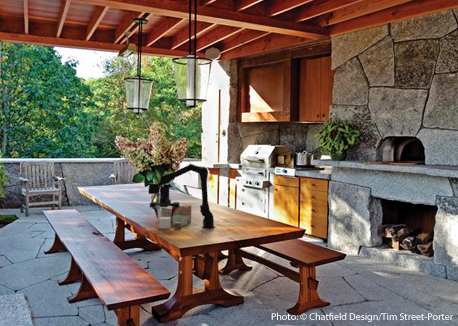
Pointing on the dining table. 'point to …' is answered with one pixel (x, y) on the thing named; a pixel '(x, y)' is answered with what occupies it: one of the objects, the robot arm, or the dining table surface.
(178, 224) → the letter cube
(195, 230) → the dining table surface
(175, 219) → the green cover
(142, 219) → the dining table surface
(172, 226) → the slate pad
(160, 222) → the white cover
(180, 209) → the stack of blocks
